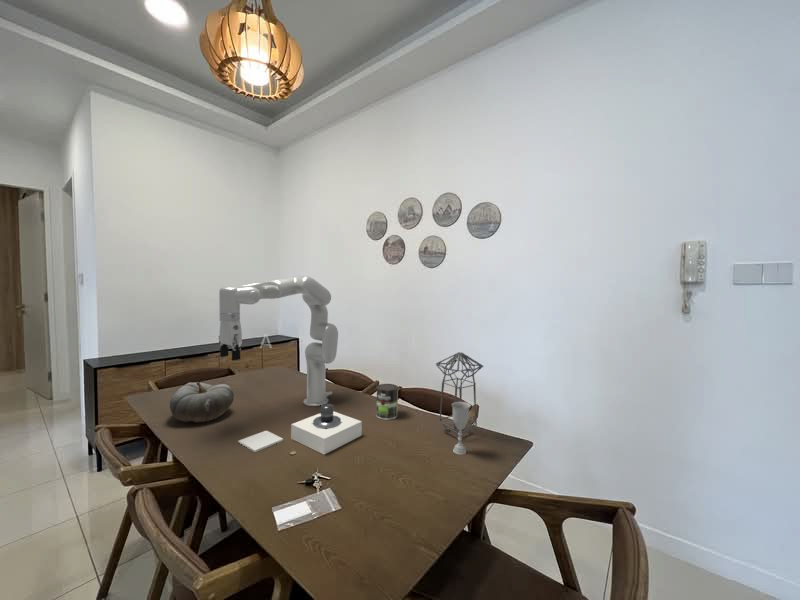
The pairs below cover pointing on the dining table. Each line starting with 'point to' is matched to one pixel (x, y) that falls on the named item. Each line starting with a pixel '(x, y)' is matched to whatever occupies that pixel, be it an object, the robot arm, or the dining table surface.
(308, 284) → the robot arm
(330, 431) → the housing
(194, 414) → the gourd
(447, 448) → the dining table surface
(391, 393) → the coffee can
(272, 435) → the mat
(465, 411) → the chalice
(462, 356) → the geometric lantern
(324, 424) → the grey round knobbed piece
